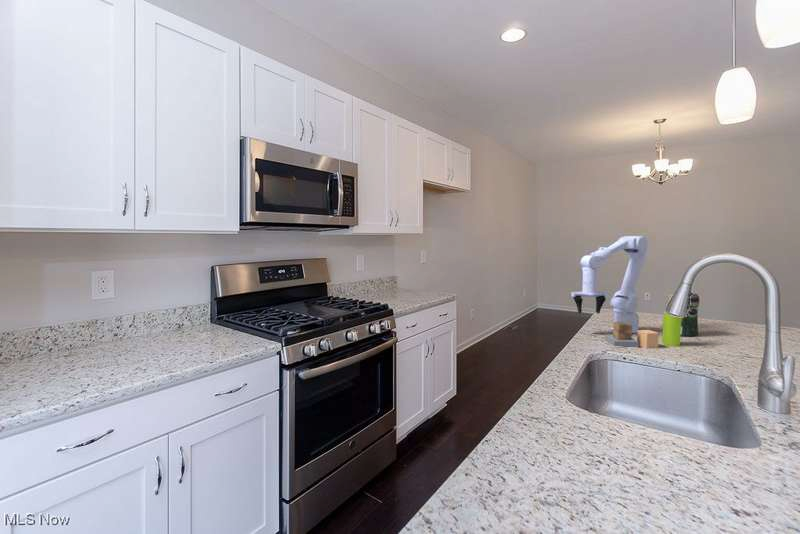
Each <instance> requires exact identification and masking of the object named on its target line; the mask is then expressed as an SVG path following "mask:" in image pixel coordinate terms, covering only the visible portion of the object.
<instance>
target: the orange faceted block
mask: <svg viewBox="0 0 800 534" xmlns="http://www.w3.org/2000/svg"><path fill="white" fill-rule="evenodd" d="M636 335H637V336H636V337H637V339H636V341H638V342H639V345H640V346H639V345H638V346H639V347H642V346H643V347H642V348H644V347H646V348H645V349H658V348H659V335H660V334H659V332H657V331H654V330H650V329H641V330H640V329H638V333H636Z"/></svg>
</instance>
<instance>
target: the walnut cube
mask: <svg viewBox="0 0 800 534" xmlns="http://www.w3.org/2000/svg"><path fill="white" fill-rule="evenodd" d="M612 323H613V326H612V328H613V330H612V335H613V337H615V338H616V339H618V340H631V338H632V334H633V333H632V325H631V324H628V323H626V322H614V321H613V322H612Z"/></svg>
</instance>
